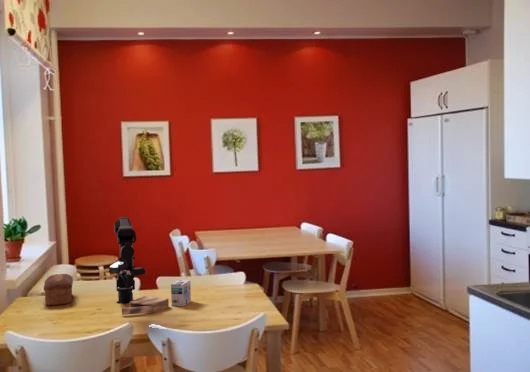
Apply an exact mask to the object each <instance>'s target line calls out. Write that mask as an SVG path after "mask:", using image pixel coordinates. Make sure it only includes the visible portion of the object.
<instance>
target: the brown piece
mask: <svg viewBox="0 0 530 372" xmlns="http://www.w3.org/2000/svg"><path fill="white" fill-rule="evenodd" d="M128 304H129V305H128V306H129V307H128V308H131V307H143V306H153V312H152V313H151V314H155V313H157V312H160V311H162V310H164V309H167V308H169V307H170V306H169V305H170V304H169V298H164V297H155V296H147V295H145V296H142V297H139V298H136V299H133V301H130V302H129V303H128Z"/></svg>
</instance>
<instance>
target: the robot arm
mask: <svg viewBox="0 0 530 372" xmlns="http://www.w3.org/2000/svg"><path fill="white" fill-rule="evenodd" d="M113 225H114V226H113V227H114V229H113V231H114V234H115V237H116V238H117V244H118V245H119V257H118V258H117V261H116V262H114V263H113V264H110V266H109V267H108V270H109V271H108V272H109V273H111V274H117V278H116V281H115V288H116V289H115V291H116V292H117V294H118V295H117V296H118V297H117V298H118V299H117V301H116V303H118V304H124V305H126V304H129V302H130V301H133V300H134V296H133V294H134V293H133V291H134V290H136V281H135V279H134V278H135V277H136V276H141V275H145V274H146V269H145V267H140V266H138V267H136V265H134V260H135V259H136V256H134V255H135V249H134V247H133V246H134V245H133V244H136V242H137V233H136V231H135V229H134V228H133V225H132V221H131V220H130V219H129V217H127V216H124V217H123V216H122V217H121V216H119V217H118V218H117V220H116V221H114V223H113Z"/></svg>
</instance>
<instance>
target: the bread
mask: <svg viewBox="0 0 530 372" xmlns="http://www.w3.org/2000/svg"><path fill="white" fill-rule="evenodd" d="M73 280H74V279H73V276H72V275H70V274H68V273H60V274H59V273H57V274H52V275H48V277H47V278H46V279H45V280H44V284H43V291H44V302H45V304H46V305H48V306H60V305H66V304H69V303H70V302H72V297H73V283H74V281H73Z"/></svg>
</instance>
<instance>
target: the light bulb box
mask: <svg viewBox="0 0 530 372" xmlns="http://www.w3.org/2000/svg"><path fill="white" fill-rule="evenodd" d="M170 292H171V293H170V295H171V296H170V297H171V306H172V307H184V306H186V305H188V304H189V303H191V301H192V298H191V297H192V294H191V280H189V279H177V280H176V281H174V282H173V283H170Z"/></svg>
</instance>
